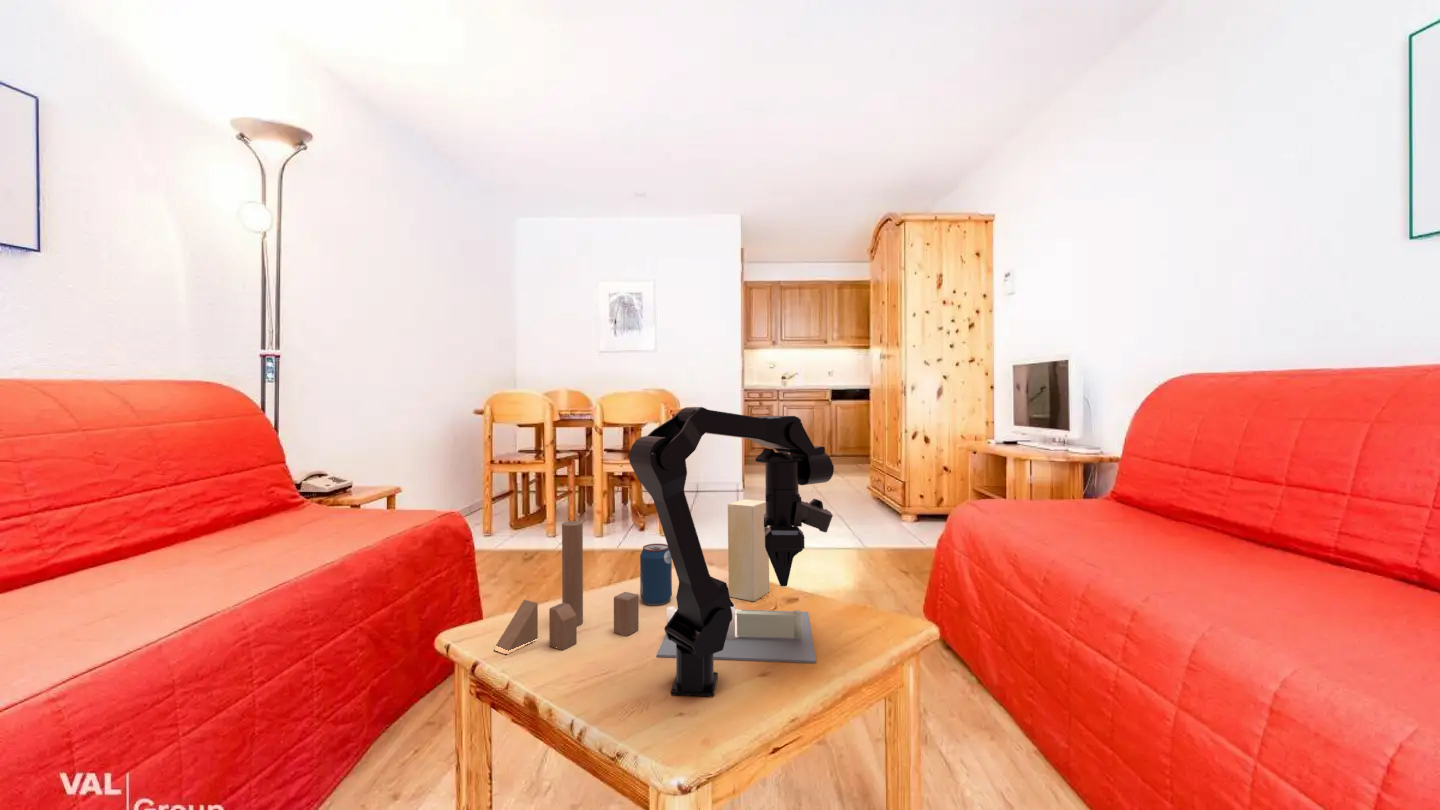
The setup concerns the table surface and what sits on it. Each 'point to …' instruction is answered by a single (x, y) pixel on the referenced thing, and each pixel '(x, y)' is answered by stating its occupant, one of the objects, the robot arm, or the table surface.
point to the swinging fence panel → (769, 624)
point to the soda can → (655, 574)
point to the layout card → (755, 644)
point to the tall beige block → (747, 550)
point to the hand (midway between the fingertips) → (782, 577)
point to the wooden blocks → (568, 602)
